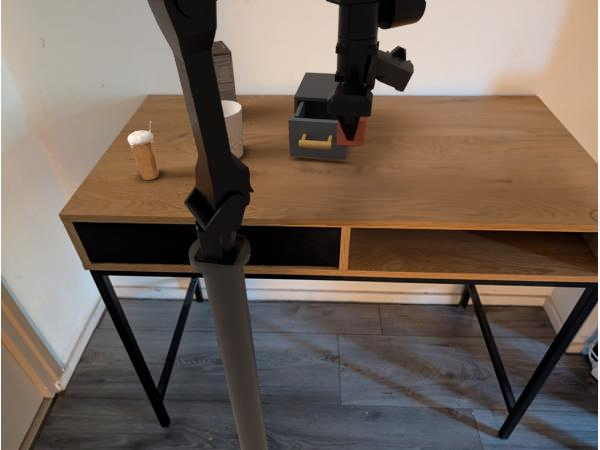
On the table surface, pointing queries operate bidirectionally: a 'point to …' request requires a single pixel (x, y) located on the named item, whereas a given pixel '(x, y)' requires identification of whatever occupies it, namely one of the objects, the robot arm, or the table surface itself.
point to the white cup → (234, 126)
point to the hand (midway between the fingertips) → (351, 133)
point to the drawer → (314, 133)
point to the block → (359, 134)
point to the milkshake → (144, 153)
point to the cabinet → (314, 88)
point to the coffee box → (224, 71)
